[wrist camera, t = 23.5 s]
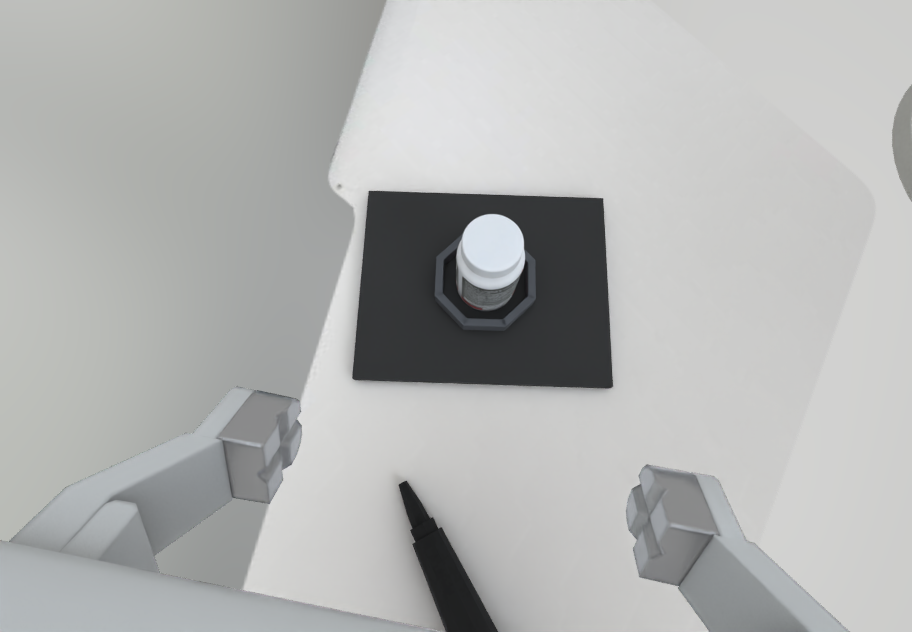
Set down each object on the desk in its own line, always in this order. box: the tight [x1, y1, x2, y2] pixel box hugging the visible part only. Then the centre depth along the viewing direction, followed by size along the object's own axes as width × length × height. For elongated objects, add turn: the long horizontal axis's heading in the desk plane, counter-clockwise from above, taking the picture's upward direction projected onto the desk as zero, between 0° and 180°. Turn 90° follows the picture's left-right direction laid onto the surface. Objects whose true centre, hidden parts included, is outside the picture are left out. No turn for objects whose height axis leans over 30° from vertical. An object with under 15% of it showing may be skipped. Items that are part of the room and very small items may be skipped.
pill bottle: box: [456, 214, 525, 311], centre depth 34 cm, size 5×5×8 cm
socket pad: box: [352, 191, 613, 388], centre depth 37 cm, size 20×16×2 cm
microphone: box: [399, 481, 498, 632], centre depth 31 cm, size 6×6×20 cm
